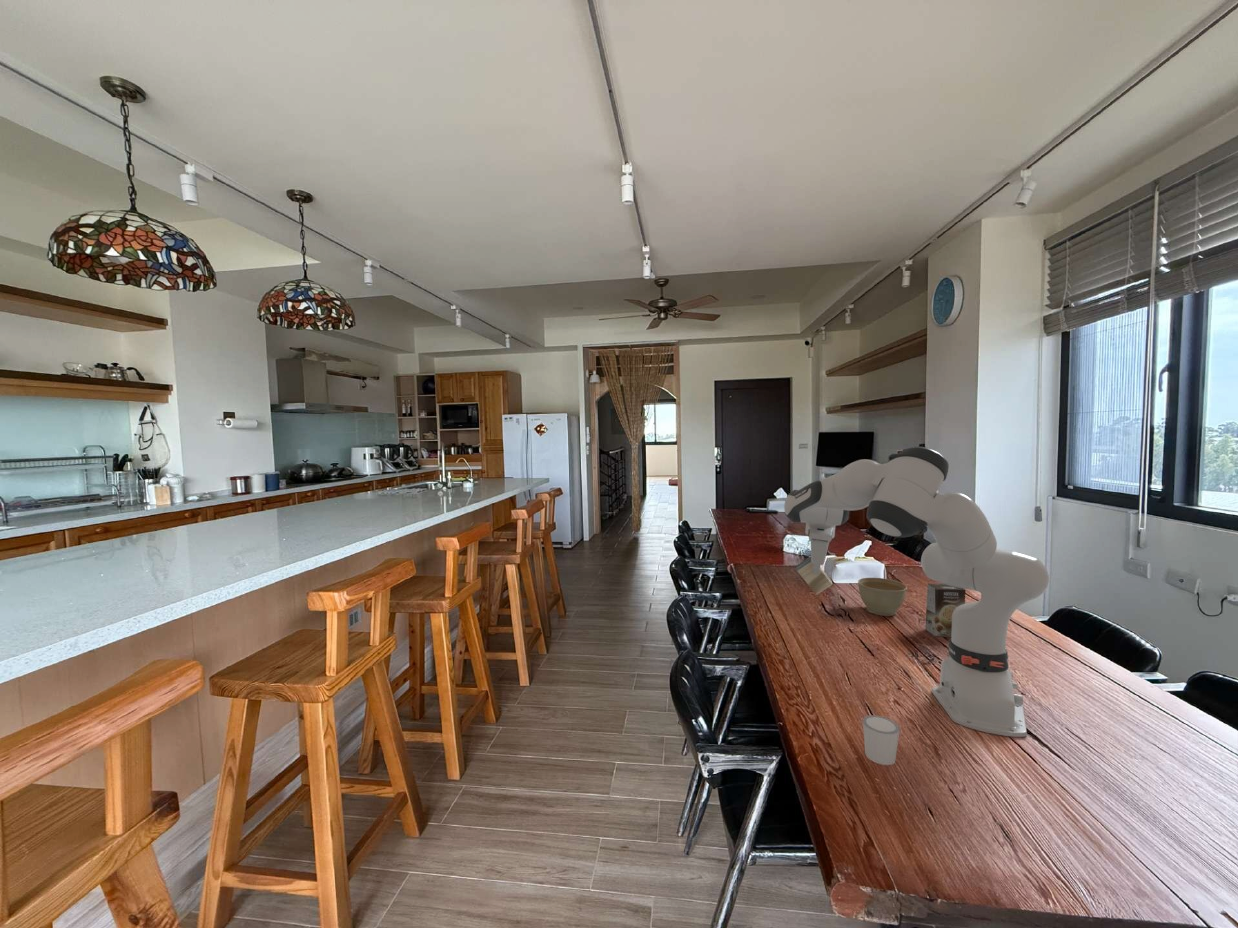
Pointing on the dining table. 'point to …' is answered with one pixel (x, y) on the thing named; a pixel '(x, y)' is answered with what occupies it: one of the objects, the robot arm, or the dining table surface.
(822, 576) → the birch block
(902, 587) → the planter bowl
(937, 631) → the coffee box
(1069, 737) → the dining table surface
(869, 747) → the shot glass
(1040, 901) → the dining table surface
